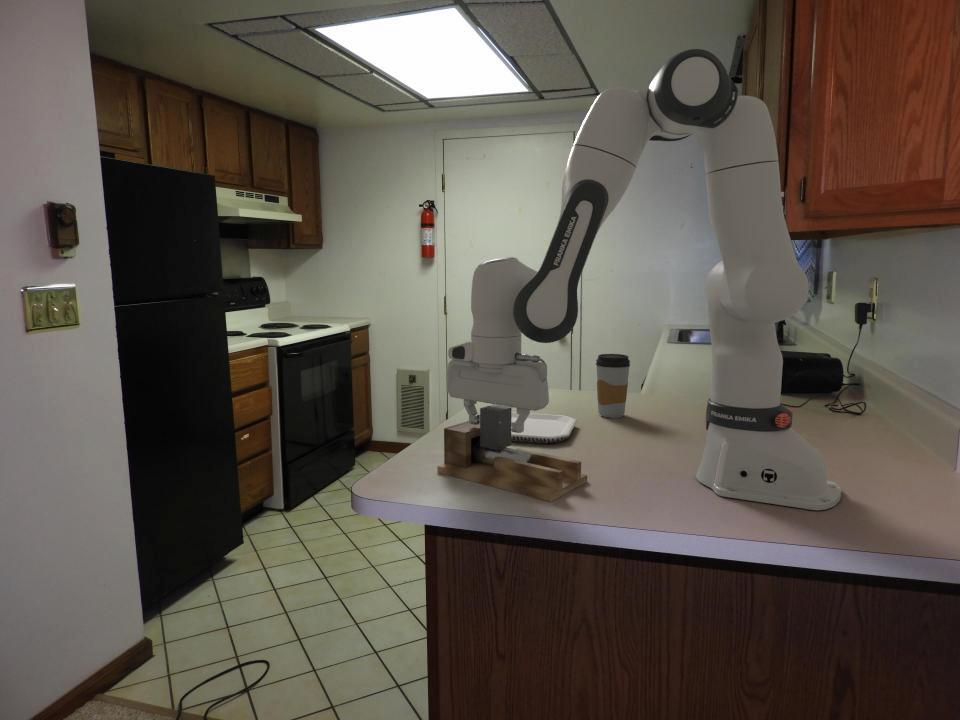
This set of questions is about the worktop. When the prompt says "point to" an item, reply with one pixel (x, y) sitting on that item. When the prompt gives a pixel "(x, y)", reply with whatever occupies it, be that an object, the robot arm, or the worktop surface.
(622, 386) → the coffee cup
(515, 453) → the grey mallet
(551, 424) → the plate
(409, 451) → the worktop surface
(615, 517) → the worktop surface
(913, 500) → the worktop surface
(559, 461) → the cradle
